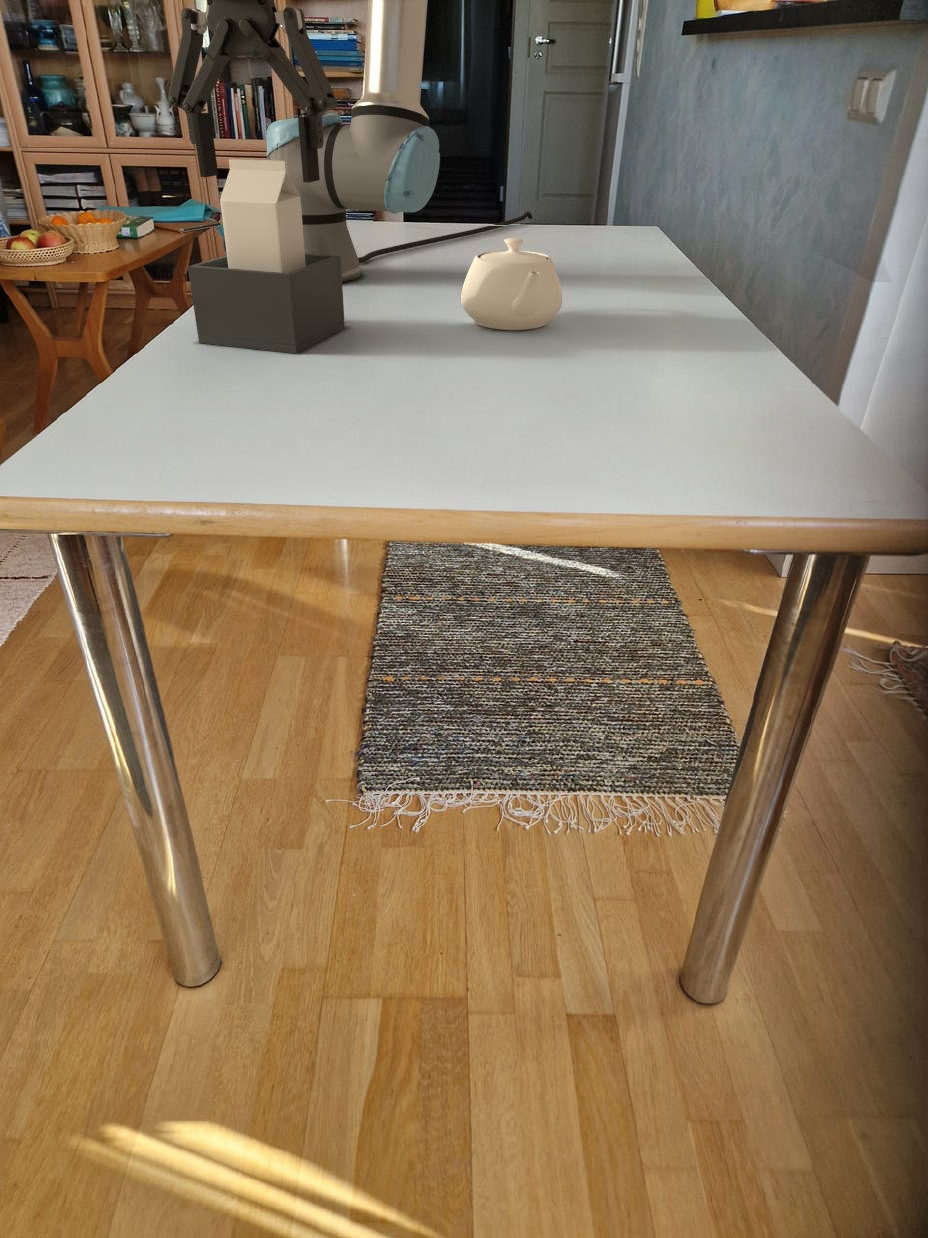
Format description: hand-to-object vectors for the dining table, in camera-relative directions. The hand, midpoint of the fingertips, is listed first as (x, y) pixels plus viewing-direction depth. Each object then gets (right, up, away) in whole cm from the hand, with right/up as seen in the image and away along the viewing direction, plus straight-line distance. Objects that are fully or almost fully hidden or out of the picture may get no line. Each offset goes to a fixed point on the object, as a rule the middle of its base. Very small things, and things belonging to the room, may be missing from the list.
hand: (259, 178), depth 102 cm
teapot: (+31, -12, +16) cm, 37 cm away
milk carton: (0, -15, +9) cm, 17 cm away
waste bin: (0, -15, +9) cm, 18 cm away
